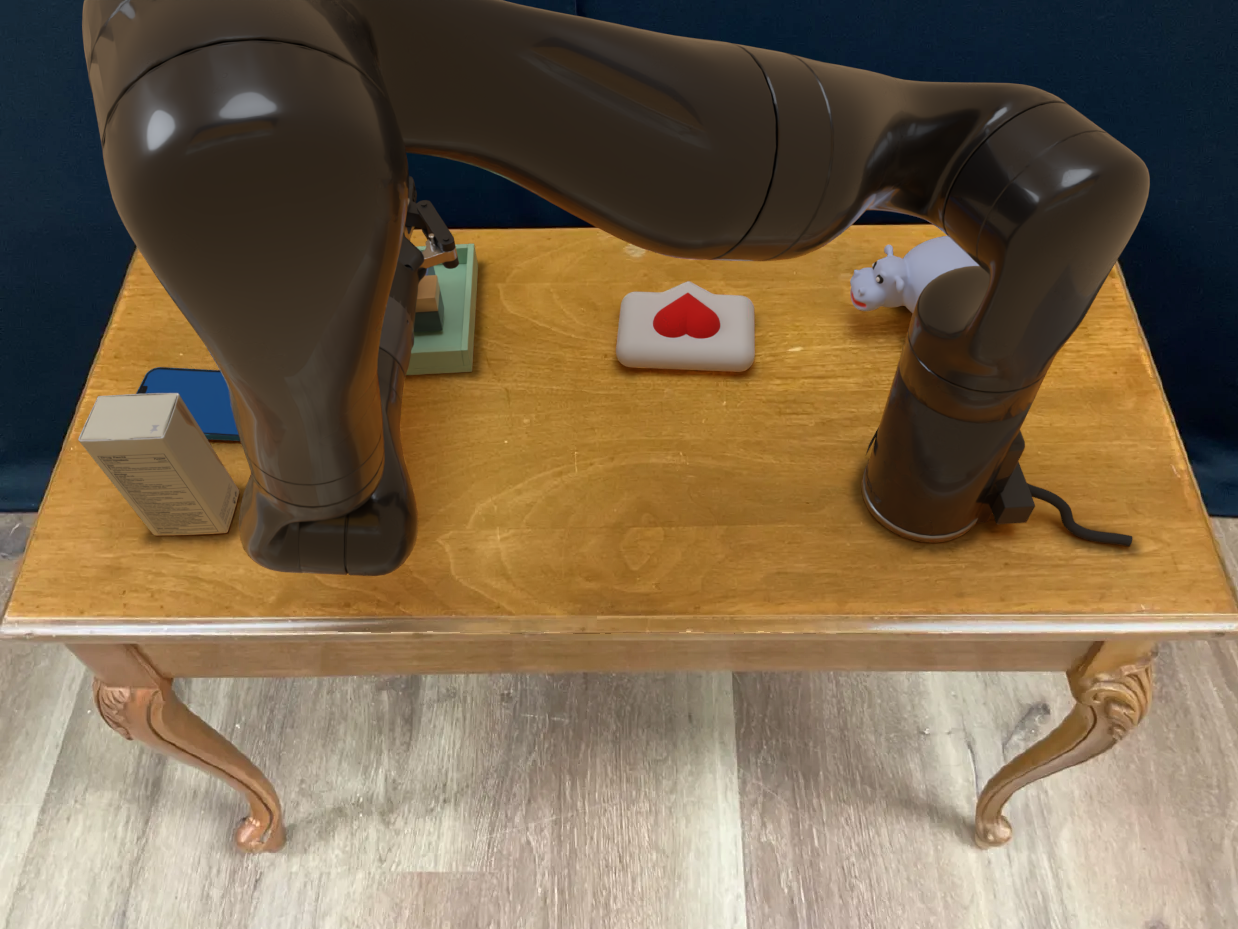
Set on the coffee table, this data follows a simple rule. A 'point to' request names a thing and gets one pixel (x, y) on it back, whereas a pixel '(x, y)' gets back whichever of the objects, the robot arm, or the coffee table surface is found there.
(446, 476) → the coffee table surface
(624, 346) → the icon
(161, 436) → the cosmetic box
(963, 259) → the hippopotamus toy
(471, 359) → the tray
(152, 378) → the smartphone
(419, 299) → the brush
